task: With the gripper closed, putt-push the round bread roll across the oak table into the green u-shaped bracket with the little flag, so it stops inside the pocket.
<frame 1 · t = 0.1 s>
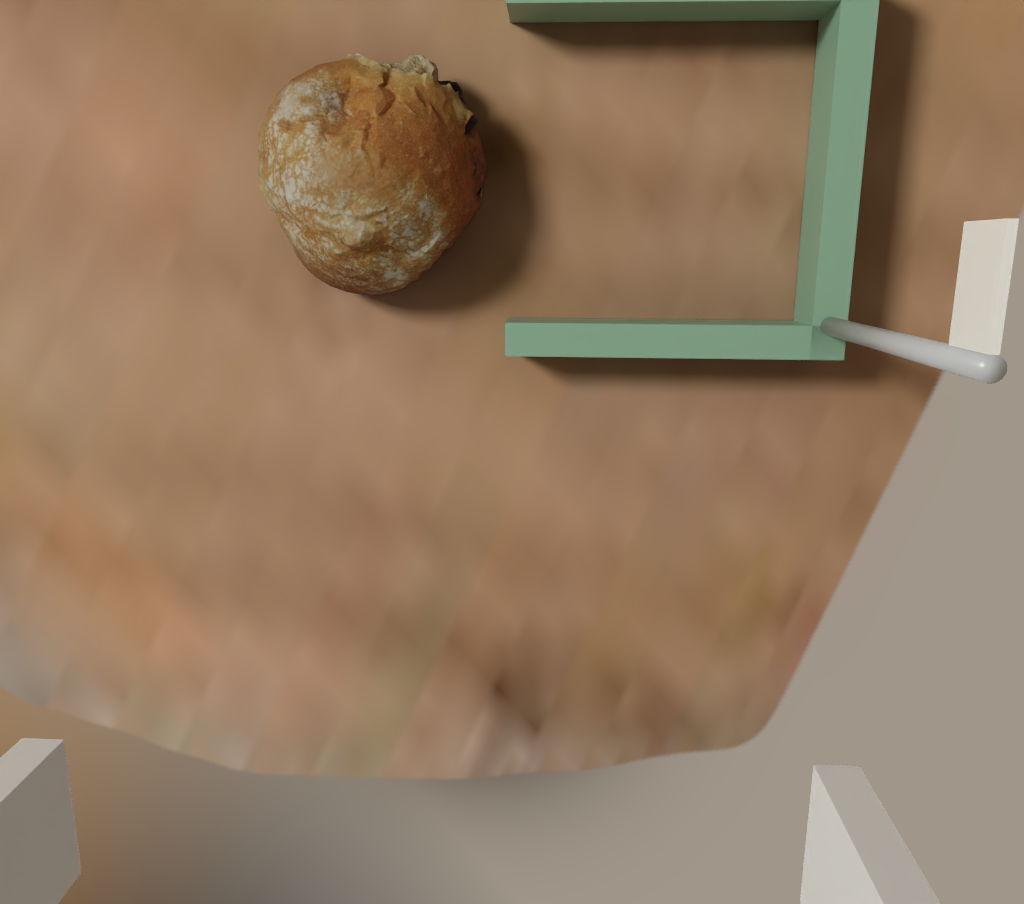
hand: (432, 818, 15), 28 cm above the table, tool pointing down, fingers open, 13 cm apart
bread roll: (383, 175, 39), on the table
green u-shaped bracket: (656, 176, 38), on the table
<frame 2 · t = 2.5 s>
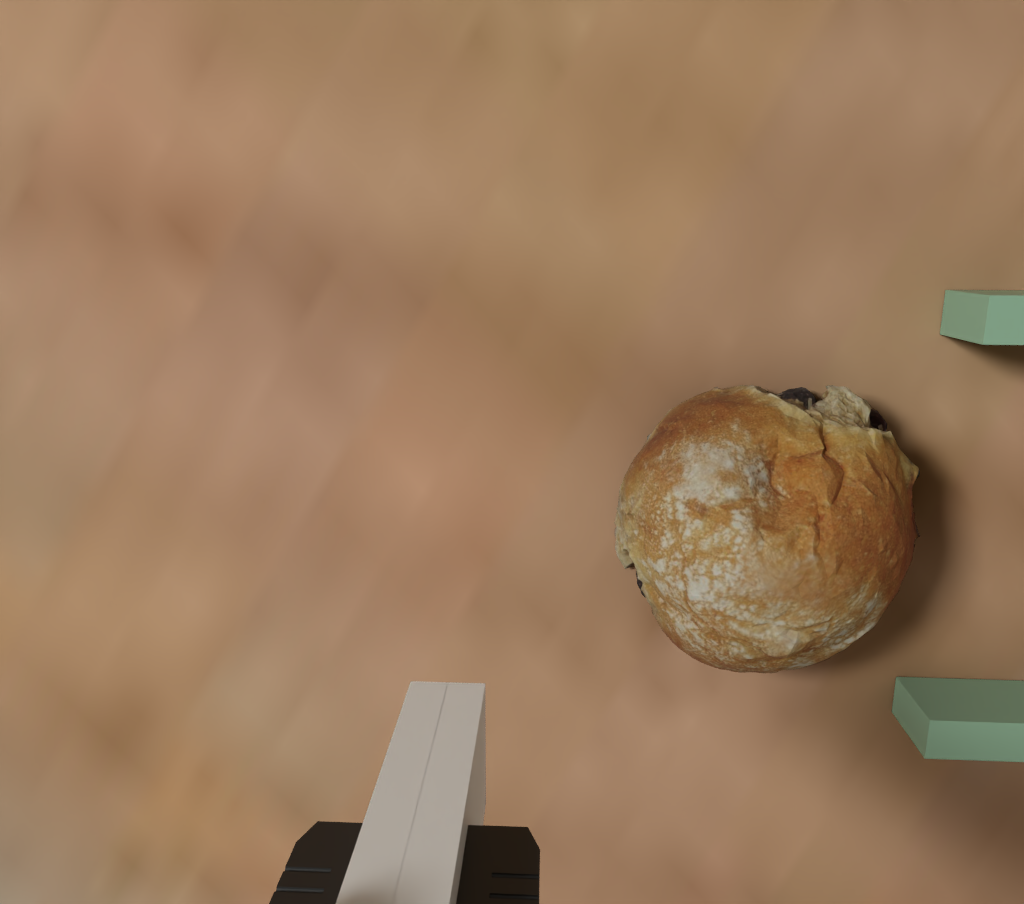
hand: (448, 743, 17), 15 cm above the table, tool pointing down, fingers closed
bread roll: (751, 503, 31), on the table
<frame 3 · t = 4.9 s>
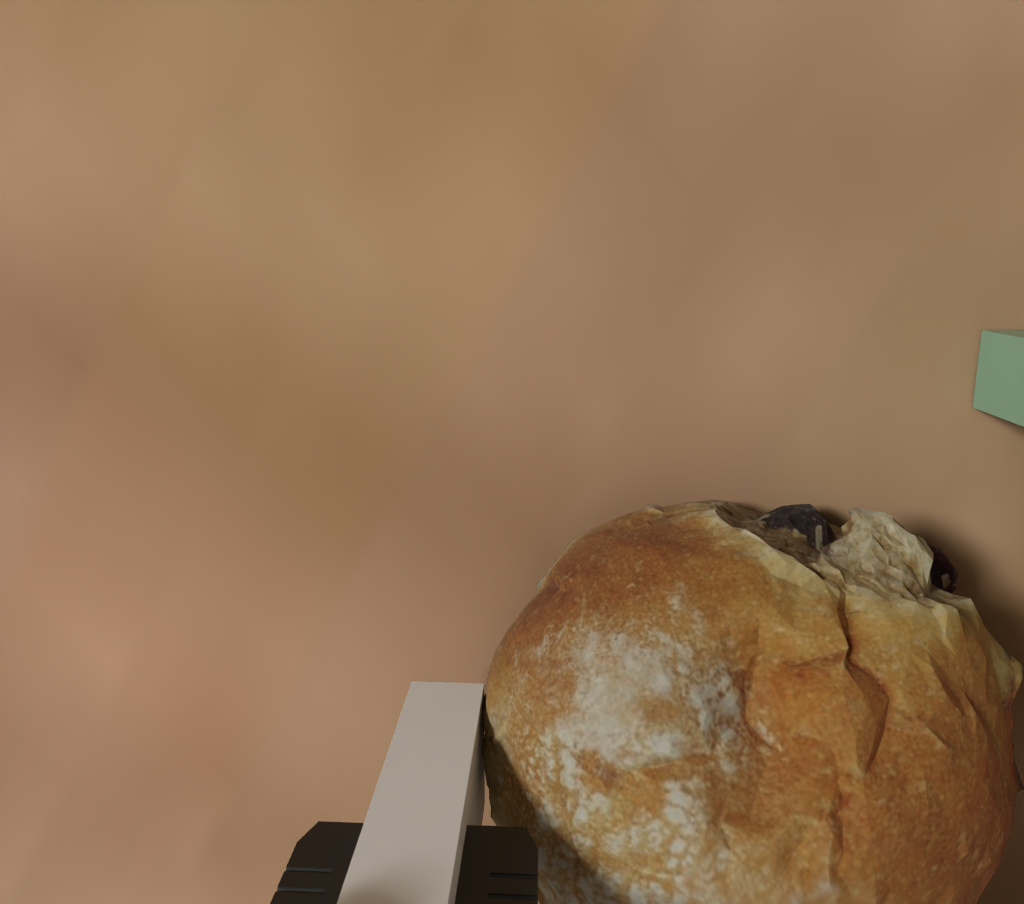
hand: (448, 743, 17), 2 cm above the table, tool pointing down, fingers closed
bread roll: (719, 686, 18), on the table, touching gripper
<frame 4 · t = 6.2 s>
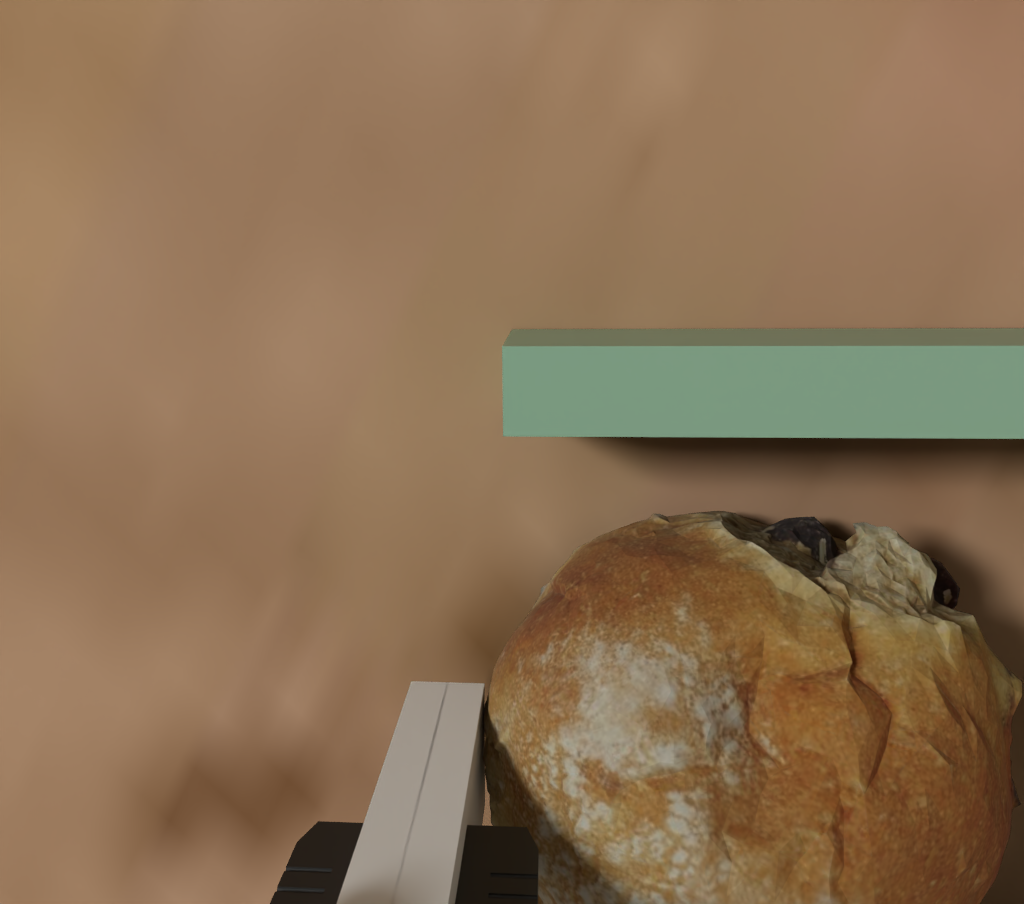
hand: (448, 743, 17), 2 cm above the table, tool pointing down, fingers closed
bread roll: (718, 696, 18), on the table
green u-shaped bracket: (827, 701, 18), on the table
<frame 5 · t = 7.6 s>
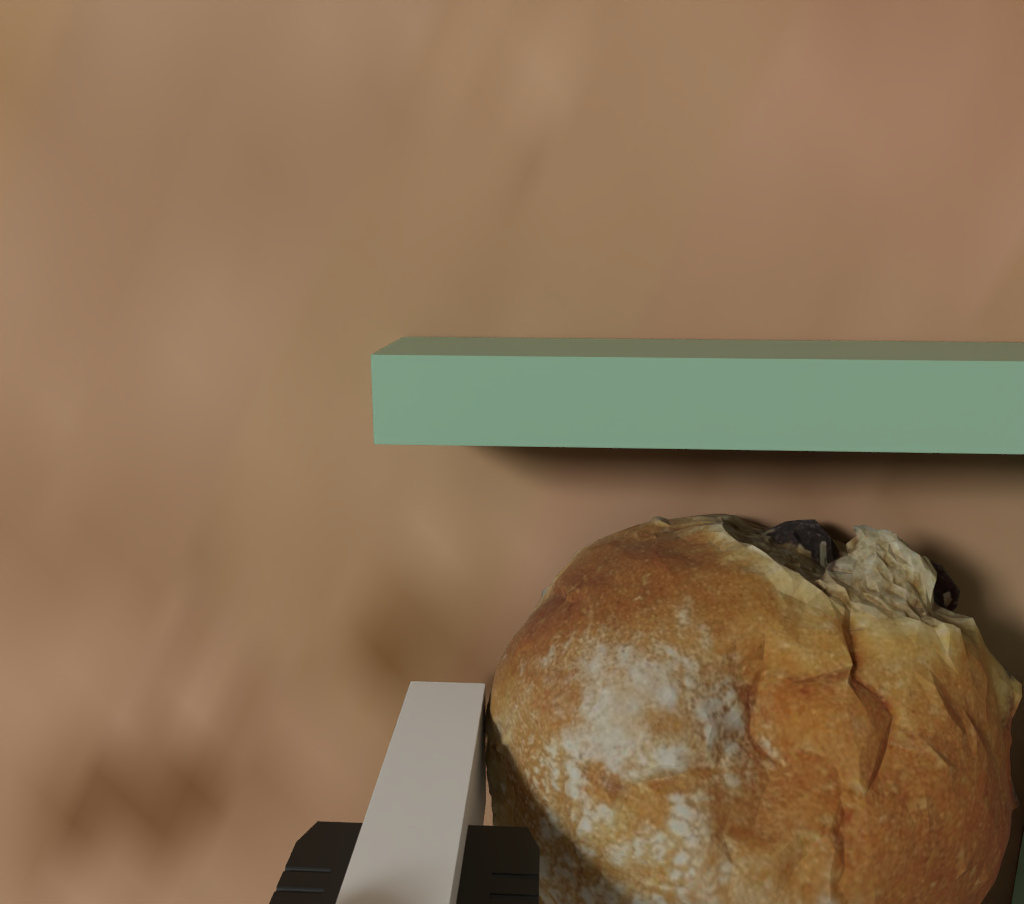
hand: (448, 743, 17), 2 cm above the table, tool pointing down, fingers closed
bread roll: (719, 698, 18), on the table
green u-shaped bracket: (721, 710, 18), on the table
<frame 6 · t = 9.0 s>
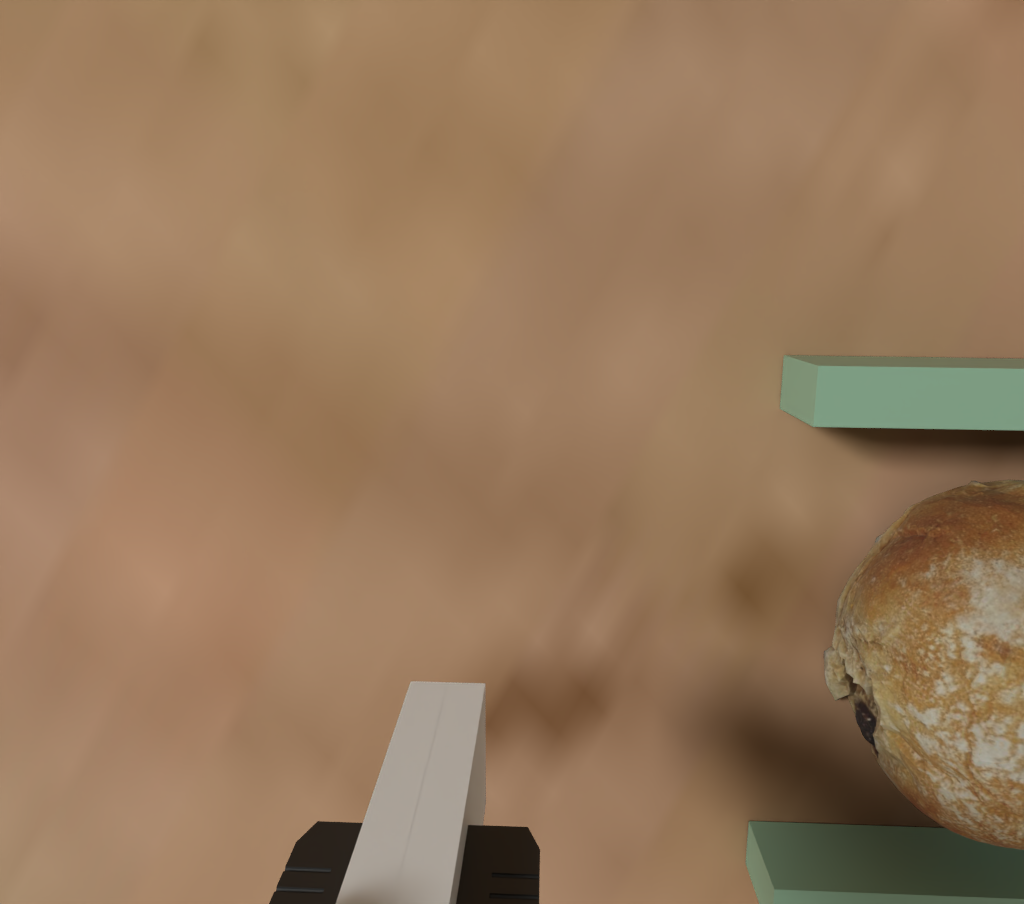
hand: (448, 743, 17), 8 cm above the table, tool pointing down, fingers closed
bread roll: (993, 621, 25), on the table
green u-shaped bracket: (995, 631, 25), on the table
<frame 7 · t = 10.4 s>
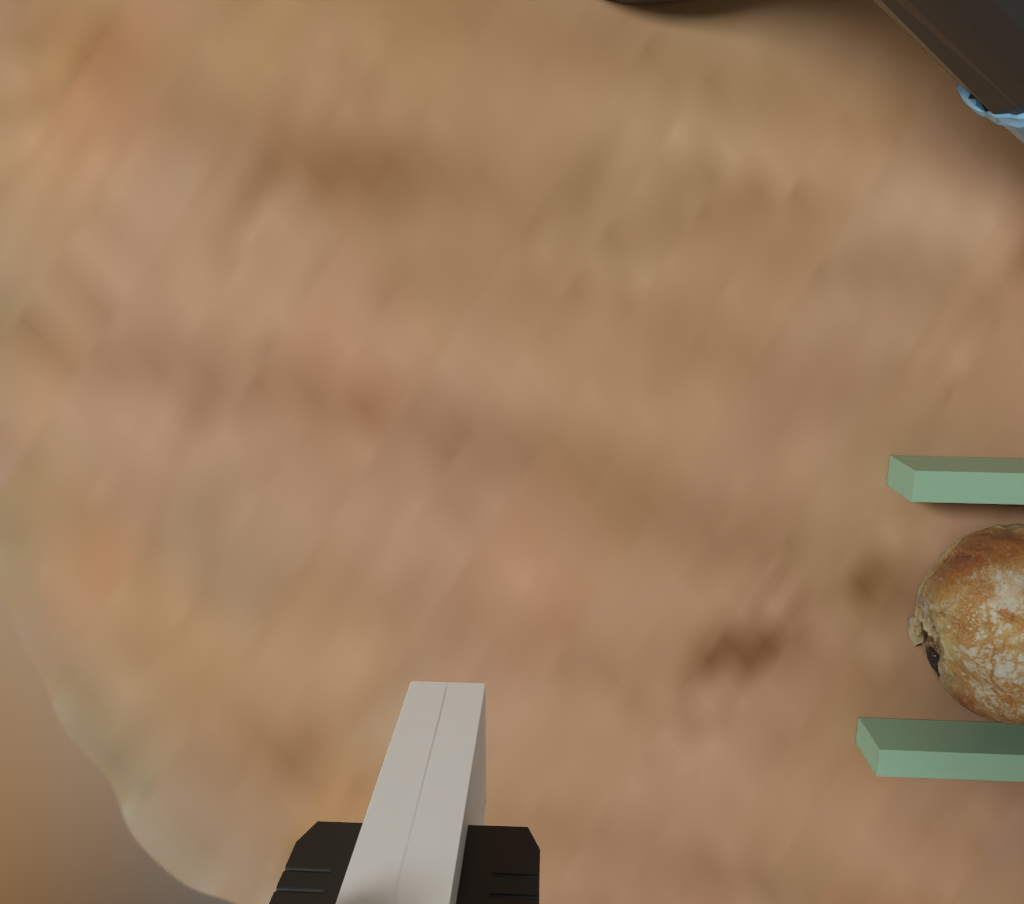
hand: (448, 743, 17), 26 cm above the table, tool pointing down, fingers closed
bread roll: (1005, 602, 43), on the table
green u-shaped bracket: (1005, 609, 43), on the table
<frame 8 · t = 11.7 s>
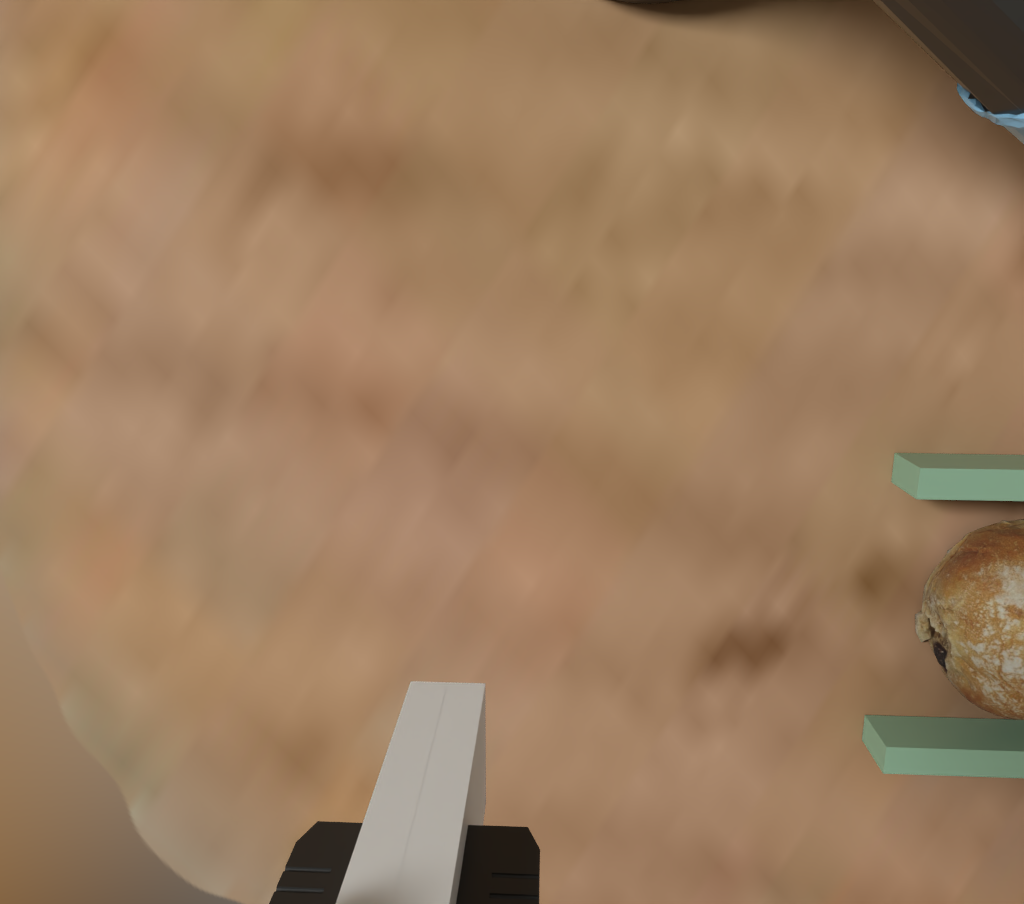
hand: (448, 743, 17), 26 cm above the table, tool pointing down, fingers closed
bread roll: (1012, 597, 43), on the table
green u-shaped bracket: (1011, 605, 43), on the table
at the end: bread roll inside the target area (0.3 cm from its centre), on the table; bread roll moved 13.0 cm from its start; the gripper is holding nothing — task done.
